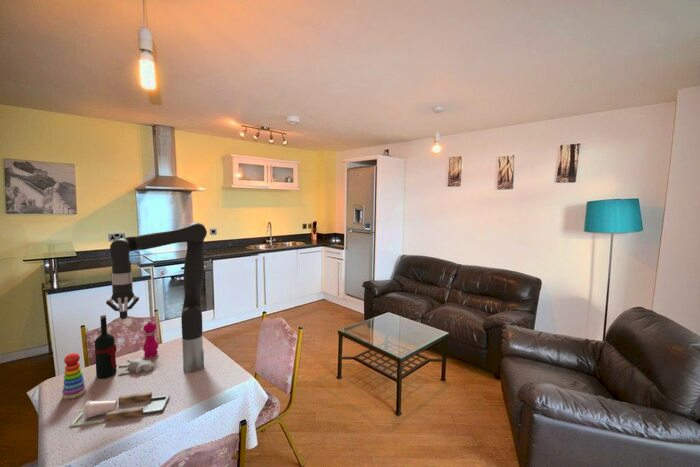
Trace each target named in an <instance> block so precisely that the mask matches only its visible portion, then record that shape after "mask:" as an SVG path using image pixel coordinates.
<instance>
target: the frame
mask: <svg viewBox="0 0 700 467" xmlns="http://www.w3.org/2000/svg"><path fill="white" fill-rule="evenodd" d="M82 416H83V411H80V413H79V414H78V416H76V417H75V419H74V420H73V421H72V422H71V423H70V424H69V426H68V427H69V428H73V427H74V428H75V427H81V426H87V425H96V424H101V423H104V422H105V421H106V418H105V419H103V418H102V419H97V420H90V421H82V422H78V421H79V420H80V419H81V418H82Z"/></svg>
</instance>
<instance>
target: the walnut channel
mask: <svg viewBox="0 0 700 467" xmlns="http://www.w3.org/2000/svg"><path fill="white" fill-rule="evenodd" d="M151 397H153V392H152V391H151V392H143V393H142V392H141V393H136V394H135V393H134V394H128V395H121V396H119V397H118V398H117V404H118V406H121V405H122V406H123V405H132V404H136V403H137V404H138V403H144V402H150V401H151ZM143 411H144V407H136V408H129V409H128V408H127V409H122V410H116V411H112V412H108V413H105V416H106V418H105V421H106V423H108V422H115V421H122V420H123V421H125V420H130V419H136V418H142V417H143V416H144V415H143Z"/></svg>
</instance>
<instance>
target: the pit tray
mask: <svg viewBox="0 0 700 467" xmlns="http://www.w3.org/2000/svg"><path fill="white" fill-rule="evenodd" d="M169 400H170V394H169V395H168V394H167V395H161V396H152V397H151V401H148V404H147V406H146V407H145V409H144V410H143V416H147V415H153V414H154V415H155V414H161V413H163V412H164V410H165V407H166V406H167V404H168V401H169Z"/></svg>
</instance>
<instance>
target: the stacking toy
mask: <svg viewBox="0 0 700 467" xmlns="http://www.w3.org/2000/svg"><path fill="white" fill-rule="evenodd" d="M79 361H80V354H79V353H76V352H72V353H71V352H70V353H68V354H67V355H66V356H65V357H64V361H63V362H64V364H65V367H64V370H65V371H64V372H63V374H64V376H63V379H64V380H63V386H62V390H61V391H62V392H61V393H62V395H61V397H62V399H64V400H72V399H76V398H78V397H80V396H82V395H84V394H85V393H86V391H87V388H86V385H85V379H84V376H83V371H82V368H81V363H80V362H79Z"/></svg>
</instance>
